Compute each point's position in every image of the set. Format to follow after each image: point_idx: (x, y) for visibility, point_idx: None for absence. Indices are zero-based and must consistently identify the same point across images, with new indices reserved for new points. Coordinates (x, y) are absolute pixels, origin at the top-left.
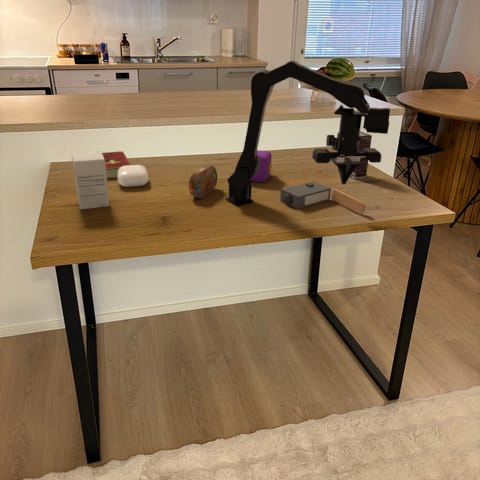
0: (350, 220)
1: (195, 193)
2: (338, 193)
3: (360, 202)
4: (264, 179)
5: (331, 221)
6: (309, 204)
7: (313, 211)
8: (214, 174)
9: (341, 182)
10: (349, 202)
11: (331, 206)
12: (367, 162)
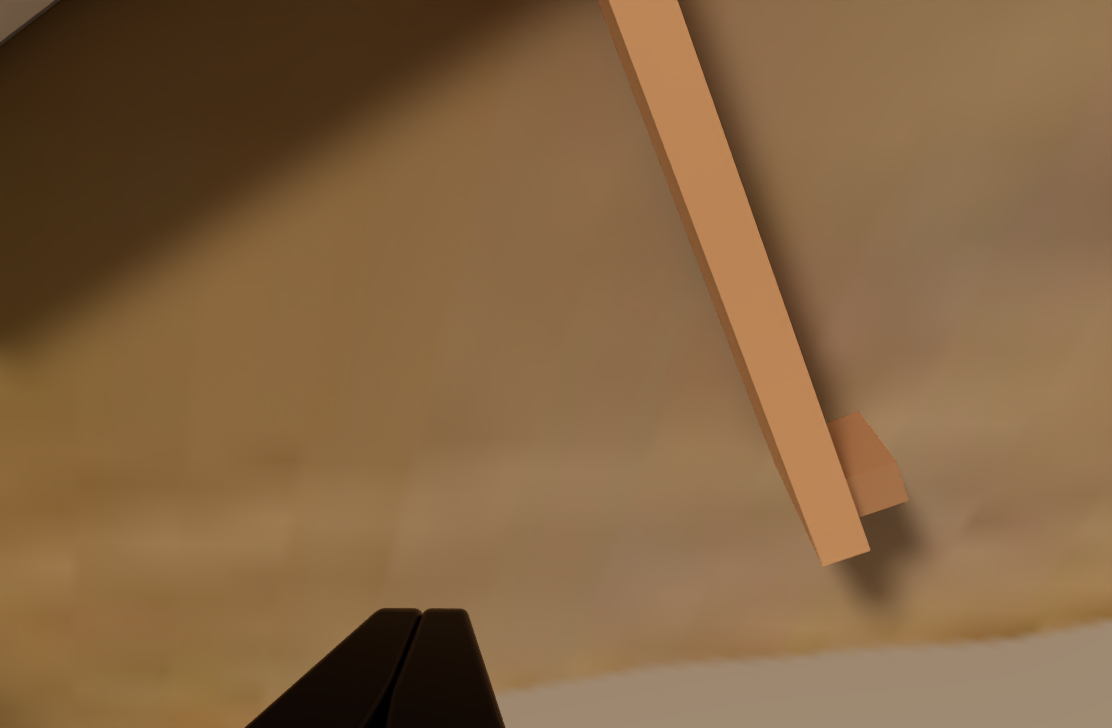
0: (580, 588)
1: None
2: None
3: (815, 535)
4: None
5: (325, 603)
6: (23, 18)
7: (104, 276)
8: None
9: (367, 636)
10: (699, 255)
11: (428, 70)
12: None
